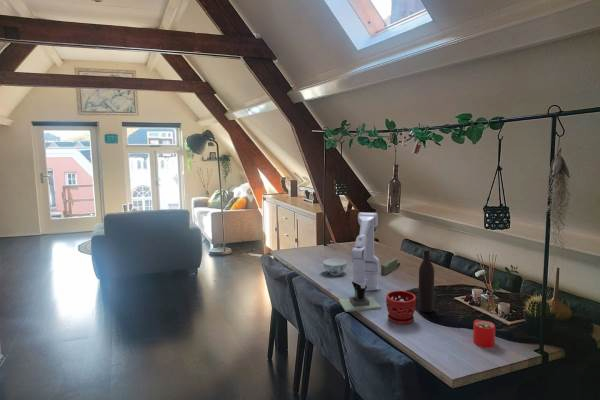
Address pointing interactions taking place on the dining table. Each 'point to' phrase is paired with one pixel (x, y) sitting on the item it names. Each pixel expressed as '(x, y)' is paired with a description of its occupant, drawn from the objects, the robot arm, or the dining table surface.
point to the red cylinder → (484, 333)
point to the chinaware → (335, 266)
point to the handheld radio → (389, 266)
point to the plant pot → (401, 307)
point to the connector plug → (357, 297)
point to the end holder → (359, 304)
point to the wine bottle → (426, 284)
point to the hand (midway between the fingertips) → (359, 297)
